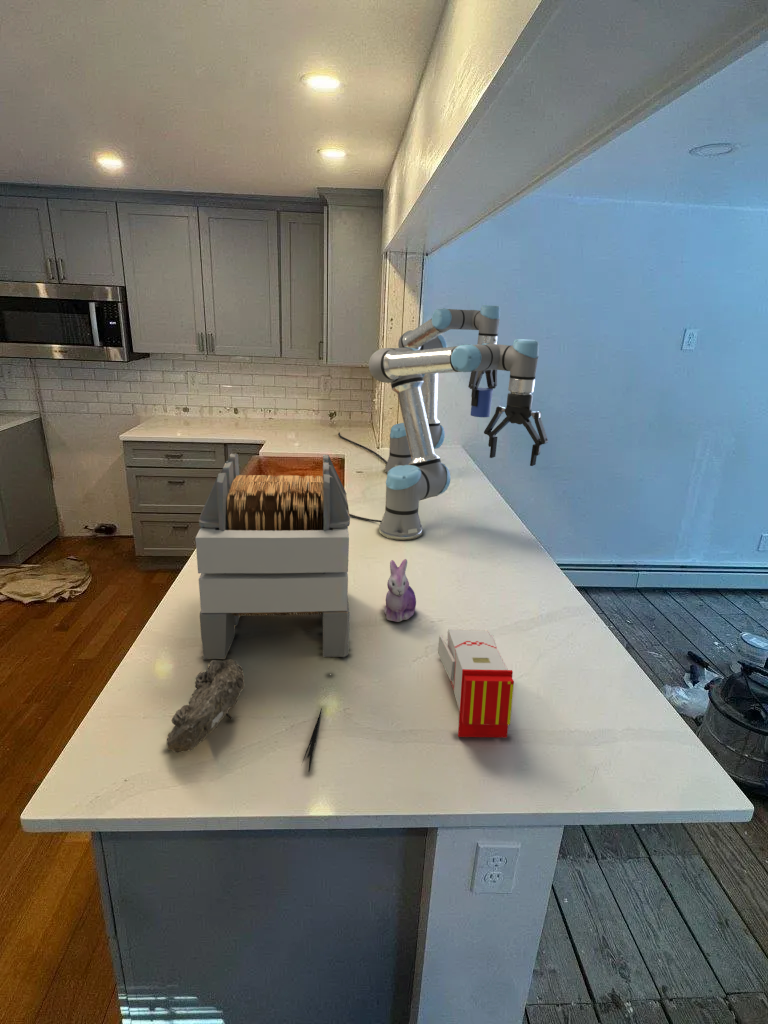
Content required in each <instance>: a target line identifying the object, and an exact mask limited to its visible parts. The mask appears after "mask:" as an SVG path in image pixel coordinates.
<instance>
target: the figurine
mask: <svg viewBox="0 0 768 1024" xmlns="http://www.w3.org/2000/svg"><path fill="white" fill-rule="evenodd" d="M407 567H408V559H406V558H404V559H403V560H402V561H401V563H400V565H399V566H398V565H397V563H396V562H395V561H394V560H393V559H391V560H390V561H389V570H390V576H389V578H388V579H387V589H388V591H387V592H386V594H385V595H386V596H385V607H384V615H385V616H386V620H387V621H391V622H395V623H400V622H402V621H406V620H409V619H410V618H411V617H413V616H414V615H415V610H416V606H417V597H416V593H415V591H414V590H413V587H411V586H410V582H409V579H408V577H407V574H406V571H407Z"/></svg>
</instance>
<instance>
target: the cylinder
mask: <svg viewBox="0 0 768 1024" xmlns="http://www.w3.org/2000/svg"><path fill="white" fill-rule="evenodd" d="M477 390H479V395H478V405H477V406H471V405H470V416H471V417H474V418H490V417H491V410H492V400H493V393H492V392H494V389H493V390H492V389H489V388H488V387H478V389H477Z"/></svg>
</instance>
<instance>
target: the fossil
mask: <svg viewBox="0 0 768 1024" xmlns="http://www.w3.org/2000/svg"><path fill="white" fill-rule="evenodd" d="M243 670H244V669H243V667H242V665H240V664H237V662H236V661H235V660H234V659H232V658H231V659H227V658H226V659H223V661H222V660H218V659H211V661H210V663H209V665H208V666H207V671H201V672H199V673H198V674H197V675H196V676H195V680H194V684H195V685H194V687H195V689H194V690H193V693H192V694H191V697H190V698H189V700H188V704H184V705H182V706H181V707H180V709H177V710H176V711H175V713H174V715H173V716H172V718H171V723H172V724H173V727H172V730H171V731H170V732H168V734H167V738H166V741H167V742H166V745H167V749H168V750H169V751H173V752H174V753H176V754H178V753H182V752H188V751H189V752H192V751H193V750H195V748H196V747H197V746H199V744H200V743H201V742H203V741H204V740H205V739H206V738H207V737H208V736H209V735H210V734H211V733H212V732H214V730H215V729H217V727H218V726H219V724H220V722H221V721H222V720H223V719H224V718H225V716H226V717H227V719H229V720H233V717H232V715H230V714H229V710H230V709H231V708H234V706H235V704H236V703H237V702H238V699H239V697H240V695H241V693H242V691H243V690H245V689H244V688H245V675H244V671H243Z"/></svg>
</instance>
